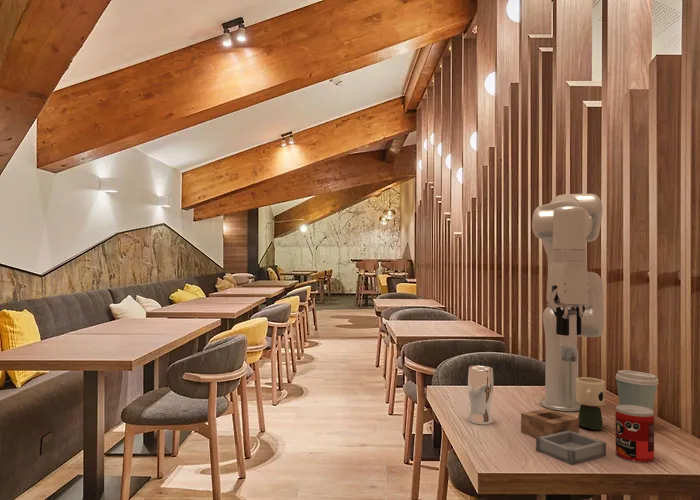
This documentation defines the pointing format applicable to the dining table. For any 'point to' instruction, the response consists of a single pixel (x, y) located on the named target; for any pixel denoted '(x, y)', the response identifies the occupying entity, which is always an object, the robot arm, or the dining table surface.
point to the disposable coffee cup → (636, 388)
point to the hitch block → (547, 423)
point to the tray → (571, 447)
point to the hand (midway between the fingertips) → (568, 333)
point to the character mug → (590, 401)
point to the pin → (570, 339)
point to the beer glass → (480, 393)
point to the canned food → (635, 433)
